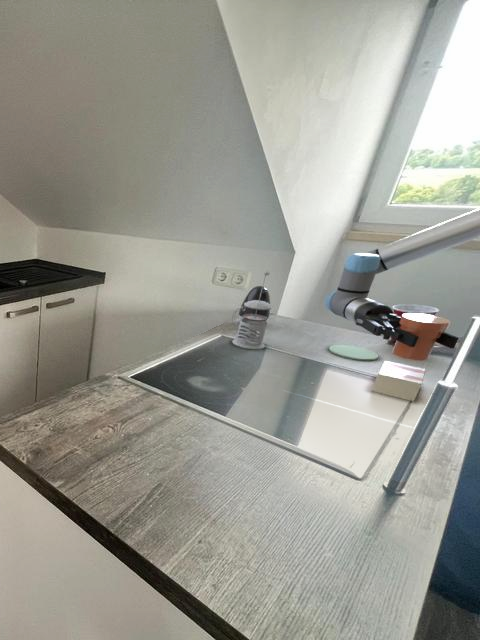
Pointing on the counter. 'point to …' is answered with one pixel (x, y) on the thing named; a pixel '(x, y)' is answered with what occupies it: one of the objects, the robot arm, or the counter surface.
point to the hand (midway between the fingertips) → (434, 342)
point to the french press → (252, 324)
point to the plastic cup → (413, 310)
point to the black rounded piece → (255, 295)
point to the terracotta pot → (420, 335)
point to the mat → (353, 352)
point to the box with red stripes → (399, 380)
